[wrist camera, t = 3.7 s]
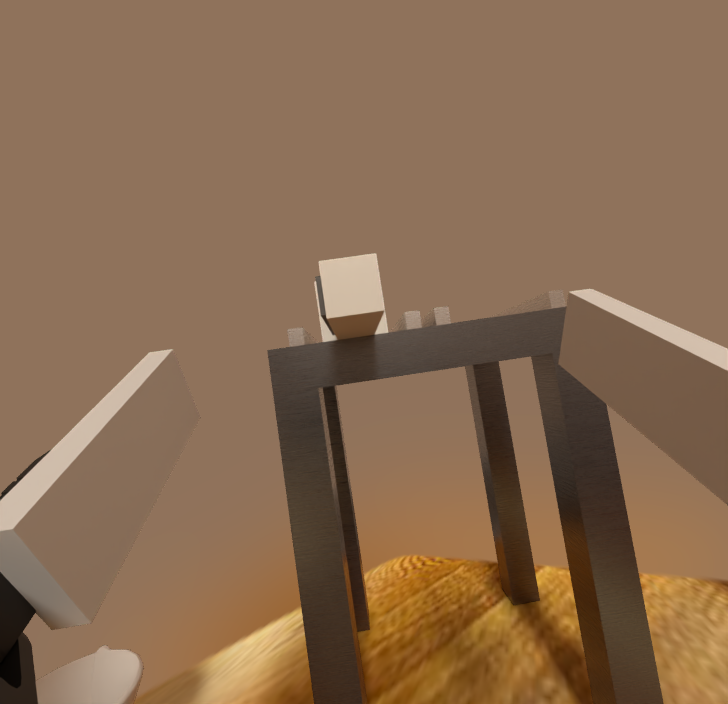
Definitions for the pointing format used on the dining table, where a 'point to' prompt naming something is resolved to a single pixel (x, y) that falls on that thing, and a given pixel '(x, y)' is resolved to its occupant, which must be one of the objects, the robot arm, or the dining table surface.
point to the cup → (94, 679)
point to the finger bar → (350, 298)
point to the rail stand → (569, 469)
